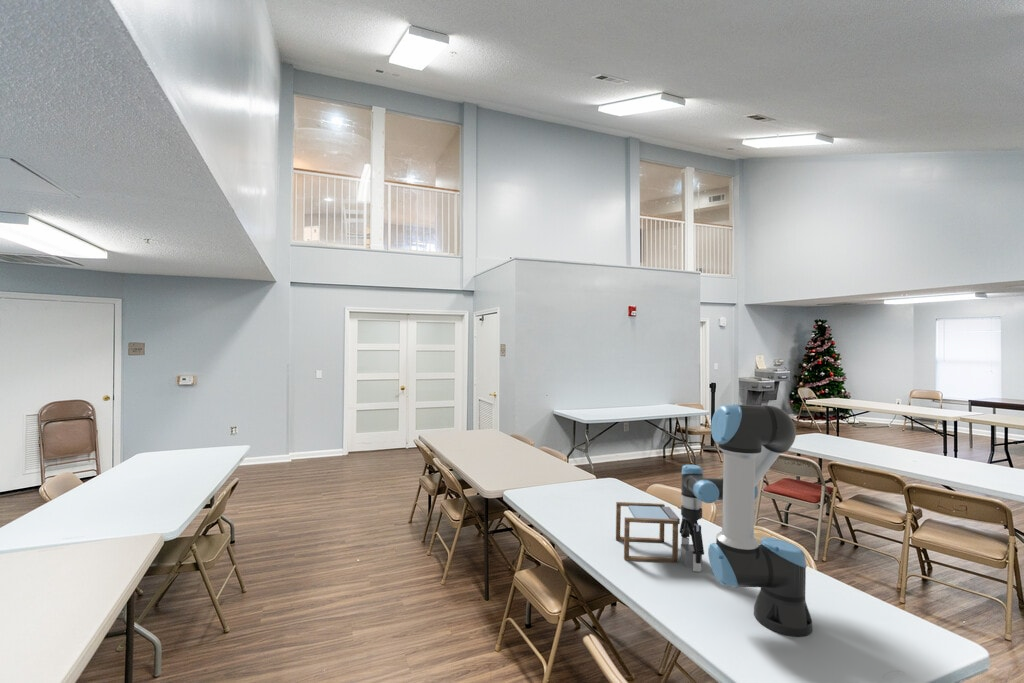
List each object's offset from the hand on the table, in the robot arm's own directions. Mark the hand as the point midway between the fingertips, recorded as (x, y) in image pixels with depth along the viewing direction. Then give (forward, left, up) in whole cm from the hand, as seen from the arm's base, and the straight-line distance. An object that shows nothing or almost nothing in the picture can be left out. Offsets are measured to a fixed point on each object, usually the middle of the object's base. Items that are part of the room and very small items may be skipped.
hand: (690, 562), depth 174 cm
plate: (+10, +12, +13) cm, 20 cm away
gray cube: (0, 0, 0) cm, 0 cm away
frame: (+10, +15, 0) cm, 18 cm away
